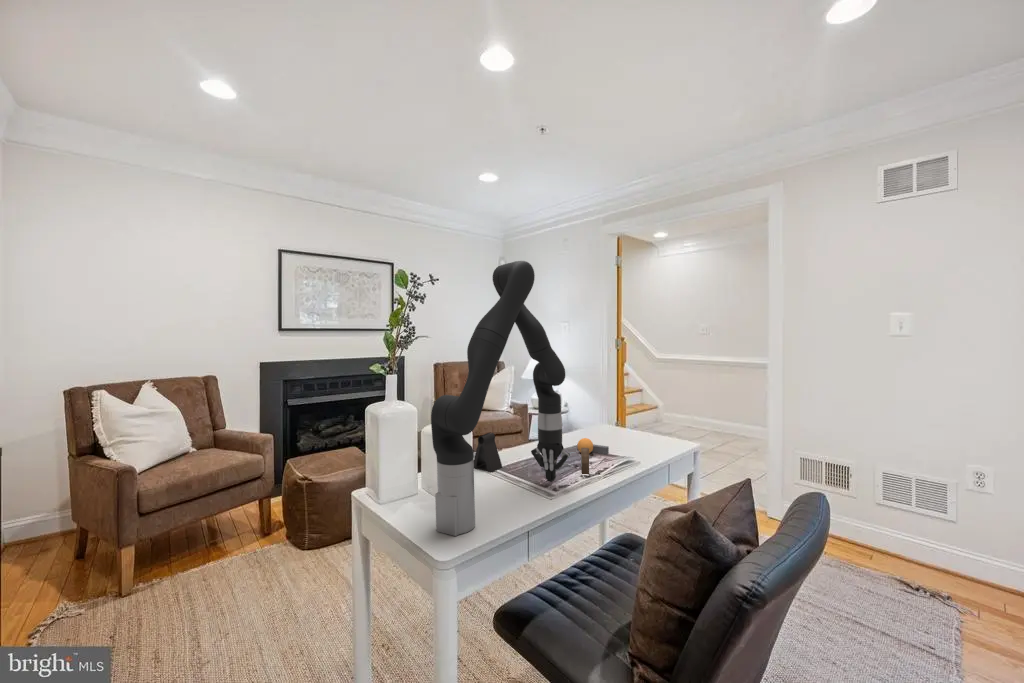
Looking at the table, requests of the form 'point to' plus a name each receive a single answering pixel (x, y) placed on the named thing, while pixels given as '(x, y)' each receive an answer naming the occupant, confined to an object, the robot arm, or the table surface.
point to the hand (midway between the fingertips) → (550, 481)
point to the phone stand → (487, 454)
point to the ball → (585, 444)
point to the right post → (585, 460)
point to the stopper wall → (599, 449)
